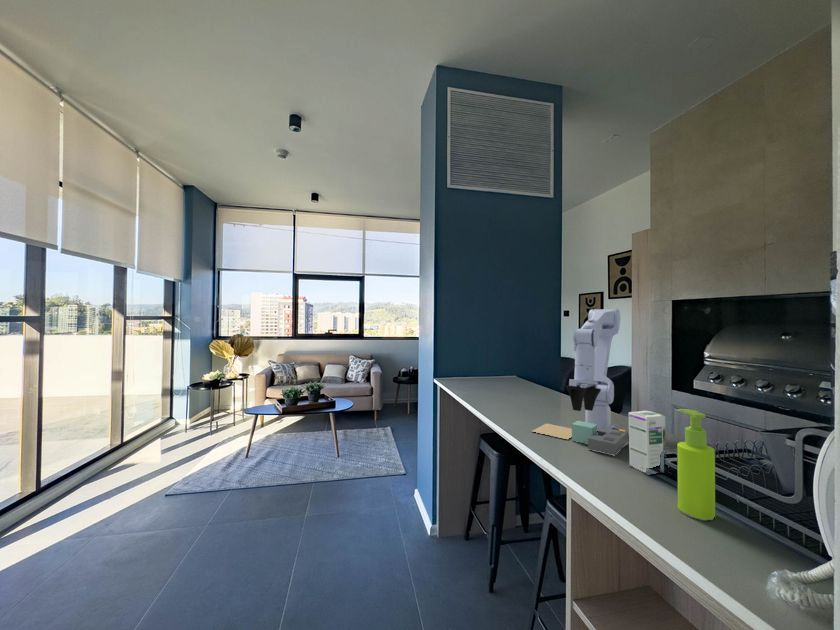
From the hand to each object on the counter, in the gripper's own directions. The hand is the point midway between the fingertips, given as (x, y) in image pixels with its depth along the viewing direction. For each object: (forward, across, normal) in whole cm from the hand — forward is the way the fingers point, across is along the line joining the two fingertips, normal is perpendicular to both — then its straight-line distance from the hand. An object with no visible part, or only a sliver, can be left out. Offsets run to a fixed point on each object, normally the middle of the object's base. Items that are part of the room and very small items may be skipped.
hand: (582, 410), depth 111 cm
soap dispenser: (+14, -20, -33) cm, 41 cm away
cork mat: (+9, +4, +11) cm, 14 cm away
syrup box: (+12, -6, -20) cm, 24 cm away
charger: (+10, +2, -1) cm, 10 cm away
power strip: (+10, +3, -7) cm, 12 cm away
